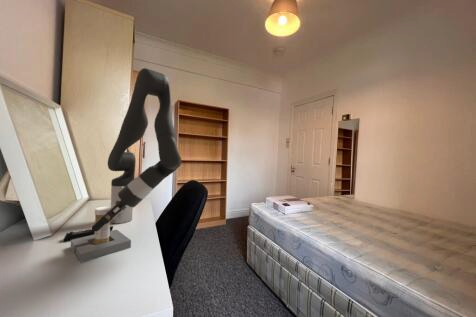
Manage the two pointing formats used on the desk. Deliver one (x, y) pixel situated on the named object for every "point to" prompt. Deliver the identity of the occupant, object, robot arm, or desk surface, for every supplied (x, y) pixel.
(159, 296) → the desk surface
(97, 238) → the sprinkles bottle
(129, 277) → the desk surface
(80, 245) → the holder plate
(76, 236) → the electric trimmer
